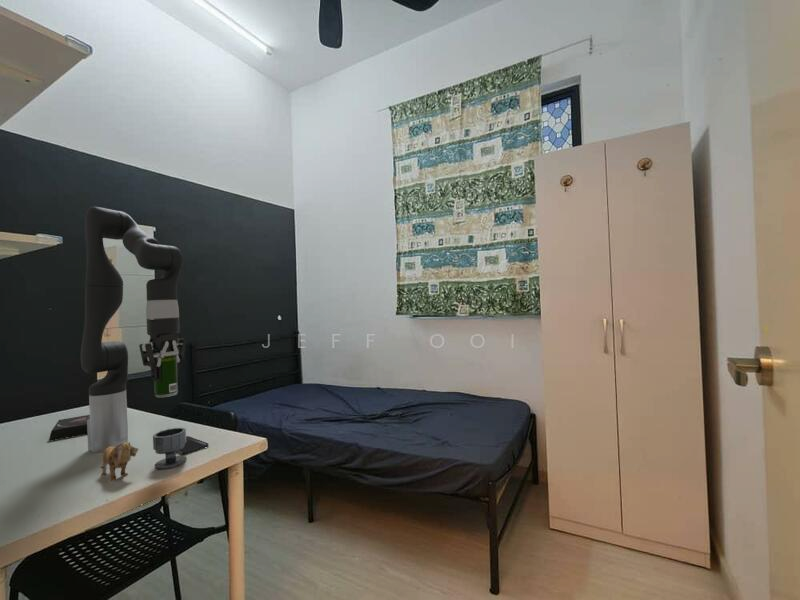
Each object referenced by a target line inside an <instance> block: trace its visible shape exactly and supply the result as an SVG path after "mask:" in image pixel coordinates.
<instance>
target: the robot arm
mask: <svg viewBox="0 0 800 600" xmlns="http://www.w3.org/2000/svg"><path fill="white" fill-rule="evenodd" d="M84 218H85V219H84V231H85V232H84V233H85V246H86V248H85V249H86V270H85V271H86V273H85V286H84V303H85V304H84V324H83V332H82V333H83V334H82V338H81V339H82V341H81V345H80V347H81V348H80V365H81V369H82V370H83V371H84V372H85V373H86V374H98V373H104V372H106V375H105V376H104V377H102V378H101V379H100V380H98V381H97V382H94V383H93V384H91V385H90V386H89V387H88V399H89V400H88V401H89V405H88V406H89V415H90V419H88V420H87V432H88V434H87V450H88V451H91V452H92V453H104V451H105V449H107V448H108V447H112V446H114V447H117V446H118V445H120V444H122V443H126V442H129V429H128V428H129V426H128V405H127V404H128V402H127V400H128V399H127V383H128V380H129V379H128V377H129V375H128V373H129V372H128V371H129V352H128V347H127V346H126V344H125V343H124V342H122V341H120V340H119V341H118V340H114V341H105V342H104V341H103V342H102V340H103V337H104V332H105V328H106V326H107V325H108V323H109V321H110V320H111V319H112V318H113V317H114V315H115V314H116V312H117V311H118V309H120V307H121V305H122V304H123V299H124V280H123V278H122V276H121V274H120V273H119V271H118V269H116V267H115V265H114V264H113V262H112V261H111V260H110V258H109V257H108V255H107V252H106V251H105V244H104V239H108V240H117V241H118V240H122V245H123V247H124V248H125V249H126V250H127V251H128V252H129V253H130V254H132V255H134V256H135V258H136V262H137V264H138V265H139V266H140V268H143V269H145V270H148V271H149V270H150V271H164V273H163V275H162V277H158V278H152V279H148V281H147V282H146V286H145V287H146V308H145V312H146V313H145V315H146V334H147V335H148V336H149V340H148V342H145V343H140V344H139V351H140V356H141V361H142V365H143V366H144V367H149V368H150V378H151V381H152V382H154V381H160V380H161V379H162V376H161V367H160V365H161V361H162V358H164V356H165V352H170V351H175V353H176V354H177V377H178V376H179V372H180V371H179V368H180V367H179V363H180V361H181V360H184V359H185V353H186V344H187V343H186V342H187V340H186V338H179V337H178V336H177V334H179V333H180V311H179V310H180V308H179V303H178V282H179V278H180V274H181V269H182V267H183V262H184V256H183V253H182V251H181V250H180V248H178V247H177V246H173V245H164V244H160V242H159V241H158V239H156V238H155V237H153V236H152V235H150V234H149V233H147V232H145V231H144V230H143V229H142V228H141V227H140V225H139V224H138V223H137V222H136V221H135V220H134V218H132V217H131V216H130V215H129V214H128V213H127V212H124V211H122V210H115V209H110V208H106V207H99V206H91V207H88V209H87V211H86V213H85V217H84ZM179 352H180V353H179ZM155 353H160V354H159V355H155ZM155 358H157V361H156V362H155Z"/></svg>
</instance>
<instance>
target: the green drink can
mask: <svg viewBox="0 0 800 600" xmlns="http://www.w3.org/2000/svg"><path fill="white" fill-rule="evenodd" d="M159 354H160V353H155V355H159ZM156 361H157V358H155V362H156ZM160 367H161V376H162V379H161V380H160V381H153V385H154V387H153V388H154V396H155V397H156V398H157V399H160V398H169V397H172V396H173V397H175V396H176V395H178V392H179V388H178V387H179V385H178V383H179V382H178V380H179V379H178V376H177V354H176V353H175V351H170V352H165V356H164V358H162V361H161V365H160Z"/></svg>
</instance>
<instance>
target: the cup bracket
mask: <svg viewBox="0 0 800 600" xmlns="http://www.w3.org/2000/svg"><path fill="white" fill-rule="evenodd" d="M186 436H187V429H186V428H184V427H174V428H168V429H167V428H166V429H164V430H160V431H158V432H155V433H154V434H153V436H152V444H153V445H152V447H153V450H154V451H155V454H157V455H164V456H165V457H164V458H162V459H161V460H158V461H157V462H156V463H155V464H154V469H155V470H157V471H159V470H160V471H162V470H163V471H164V470H169V469H174V468H177V467H180V466H181V465H183V463H184V464H185V463H186V462H187V461H186V460H187V455H177V453H176V451H178V450H181V449H182V448H184V447H185V443H186Z"/></svg>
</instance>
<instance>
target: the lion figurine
mask: <svg viewBox="0 0 800 600" xmlns="http://www.w3.org/2000/svg"><path fill="white" fill-rule="evenodd" d="M138 451H139V448H137V447H134V446H133V445H131V442H129V441H128V442H126V443H122V444H120V445H118V446H117V447H114V446H112V447H108V448H107V449H105V451H103V452H102V453H103V454H102V460H101V461H102V466H100V469H102V472H101V474H100V476H101V477H103V476H106V475H107V474H108V473H107V468H108V467H107V465H108V466H109V474H110V480H109V481H110V482H115V481H117V475H116V469H120V476H121V477H126V475H127V476H128V474H129V473H128V472H126V468H127V465H128V463H129V462H130V461H131V460H132V459H131V457H136V455H137V453H138Z"/></svg>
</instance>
